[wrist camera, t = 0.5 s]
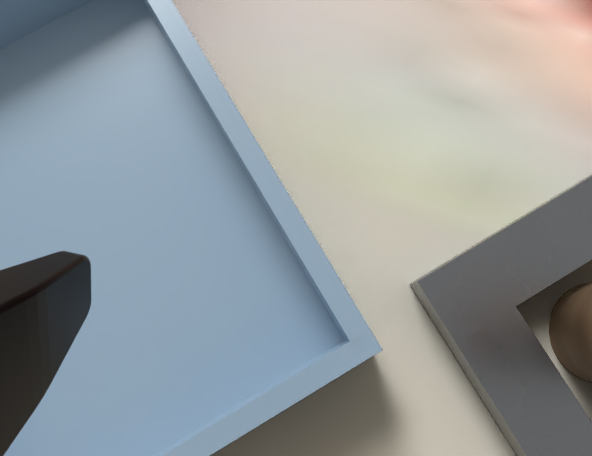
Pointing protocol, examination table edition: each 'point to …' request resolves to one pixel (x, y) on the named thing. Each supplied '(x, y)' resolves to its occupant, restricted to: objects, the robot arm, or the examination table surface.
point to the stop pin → (573, 331)
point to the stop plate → (516, 322)
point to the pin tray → (158, 237)
